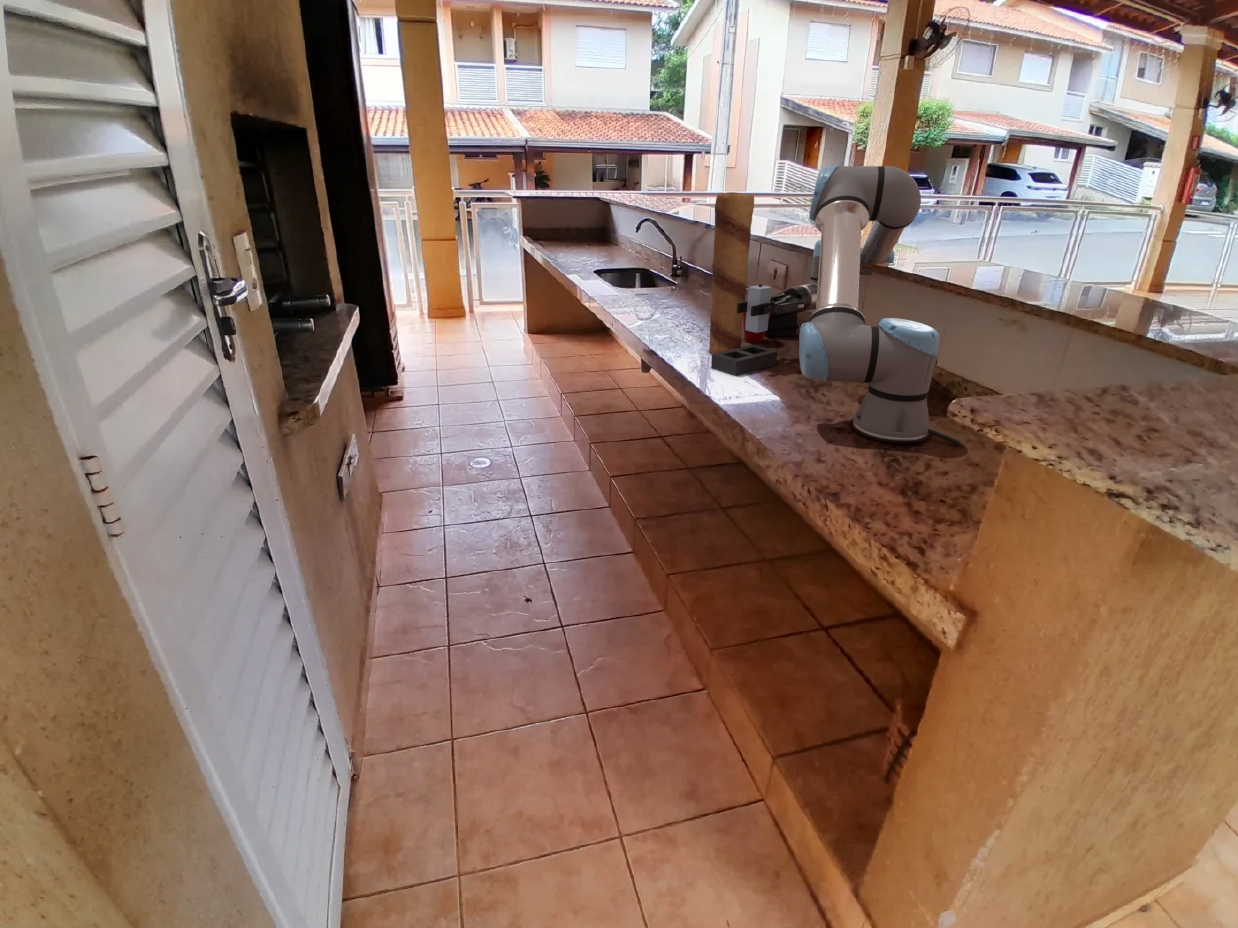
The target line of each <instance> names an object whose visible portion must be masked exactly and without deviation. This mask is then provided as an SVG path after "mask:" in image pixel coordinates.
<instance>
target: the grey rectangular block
mask: <svg viewBox="0 0 1238 928" xmlns="http://www.w3.org/2000/svg"><path fill="white" fill-rule="evenodd" d="M771 296H772V286H768V285H763V283H758V284H757V285H751V286H748V289H747V301H748V302H747V314H746V326H745V330H747V331H751V332H755V333H759V332H763V331H767V329H768V319H769V313H768V314H763V315H758V316H753V317H752V316H750V315H751V306H754V305H760V304H765V303H770V299H771ZM769 306H770V305H769Z"/></svg>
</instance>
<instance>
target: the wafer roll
mask: <svg viewBox="0 0 1238 928" xmlns="http://www.w3.org/2000/svg"><path fill="white" fill-rule="evenodd" d="M754 210H755V195H754V194H752V193H746V194H745V193H740V192H733V191H730V192H729V191H728V192H725V193H724V192H719V193H718V194H717V195H716V199H715V204H714V238H713V239H714V240H713V255H712V266H711V268H712V272H711V273H712V275H711V306H710V320H709V321H710V326H709V348H708V352H709V353H710V354H711V355H712V354H715V353H719V352H723V351H727V350H732V349H736V348H740V347H742V345H743V344H742V343H743V342H742V341H743V339H742V333H743V313H737V303H740V302H746V298H747V297H746V296H747V295H746V294H747V279H748V259H749V252H750V244H751V235H752V223H753V214H754Z"/></svg>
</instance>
